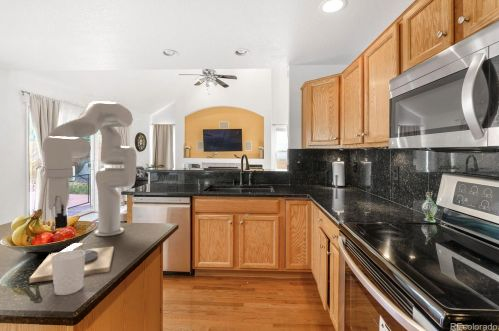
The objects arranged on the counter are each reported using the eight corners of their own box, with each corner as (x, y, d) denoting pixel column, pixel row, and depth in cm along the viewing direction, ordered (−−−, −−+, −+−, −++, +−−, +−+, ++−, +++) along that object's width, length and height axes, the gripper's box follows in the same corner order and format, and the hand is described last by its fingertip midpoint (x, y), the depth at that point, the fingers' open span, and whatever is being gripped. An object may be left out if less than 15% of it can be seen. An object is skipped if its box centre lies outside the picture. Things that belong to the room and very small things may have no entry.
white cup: (48, 299, 70) (47, 262, 70) (56, 285, 77) (55, 251, 77) (82, 293, 73) (82, 257, 73) (87, 280, 80) (87, 248, 80)
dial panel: (113, 250, 106) (113, 238, 106) (109, 271, 87) (109, 258, 87) (50, 257, 98) (49, 245, 97) (29, 283, 78) (29, 268, 78)
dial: (69, 252, 98) (69, 238, 97) (103, 252, 99) (103, 238, 98) (43, 269, 84) (43, 252, 83) (83, 268, 85) (83, 251, 85)
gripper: (49, 172, 93) (51, 222, 95) (41, 177, 80) (43, 235, 82) (74, 171, 97) (76, 220, 98) (70, 175, 84) (72, 232, 85)
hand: (61, 227), depth 90 cm, fingers closed
